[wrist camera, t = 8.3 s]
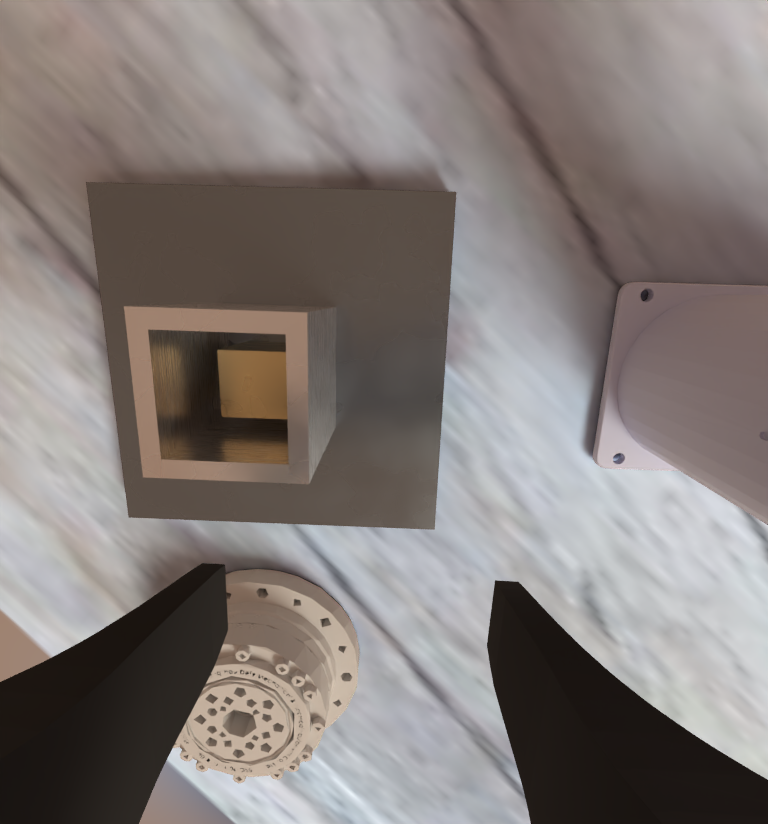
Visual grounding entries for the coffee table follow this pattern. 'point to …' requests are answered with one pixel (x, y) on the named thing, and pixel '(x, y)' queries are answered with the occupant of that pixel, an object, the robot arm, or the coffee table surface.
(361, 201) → the post plate
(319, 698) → the mechanical component
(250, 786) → the coffee table surface
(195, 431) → the collar
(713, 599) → the coffee table surface
